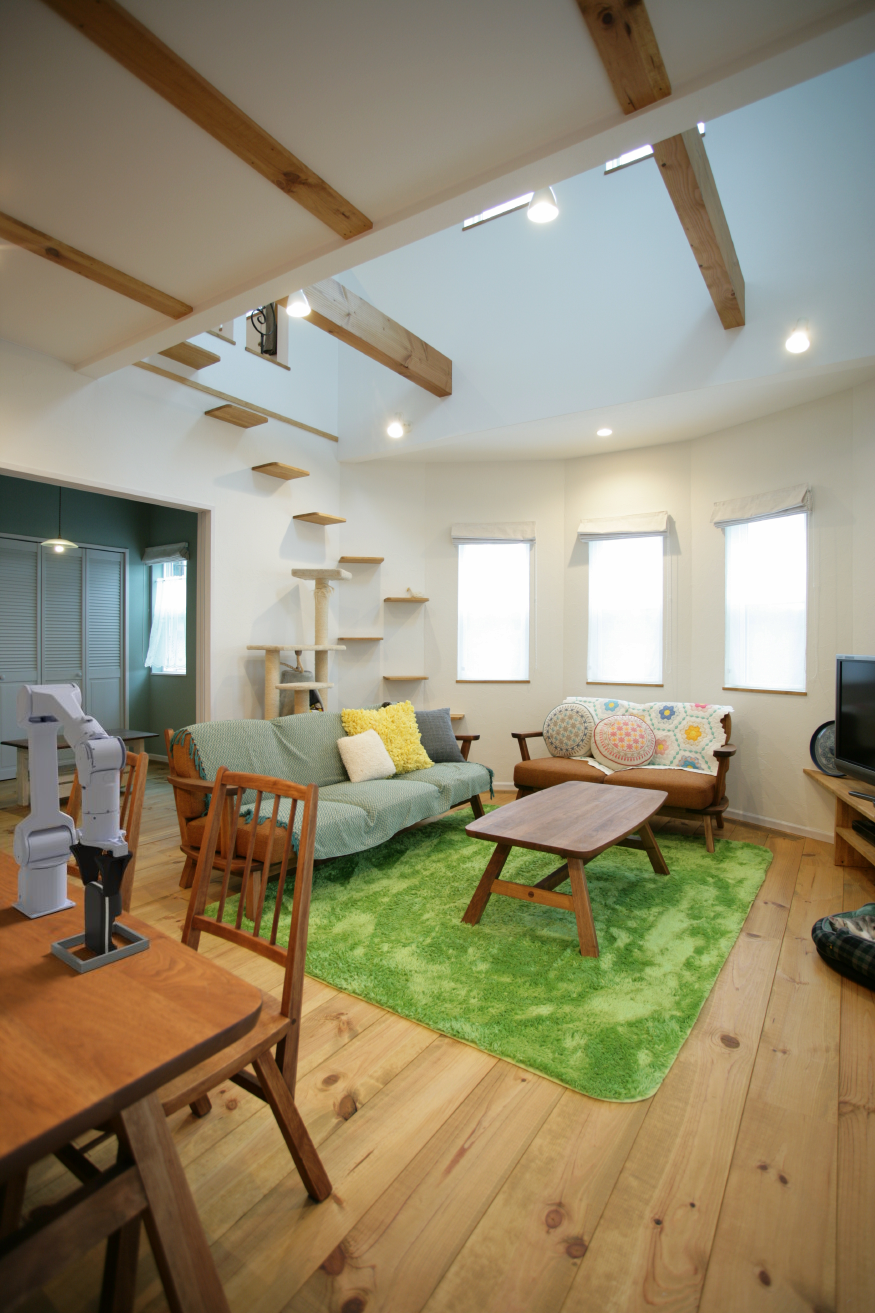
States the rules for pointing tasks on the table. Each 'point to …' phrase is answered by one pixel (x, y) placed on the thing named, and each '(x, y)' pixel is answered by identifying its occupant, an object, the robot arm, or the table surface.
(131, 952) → the holder frame
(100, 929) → the battery charger
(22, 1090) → the table surface
